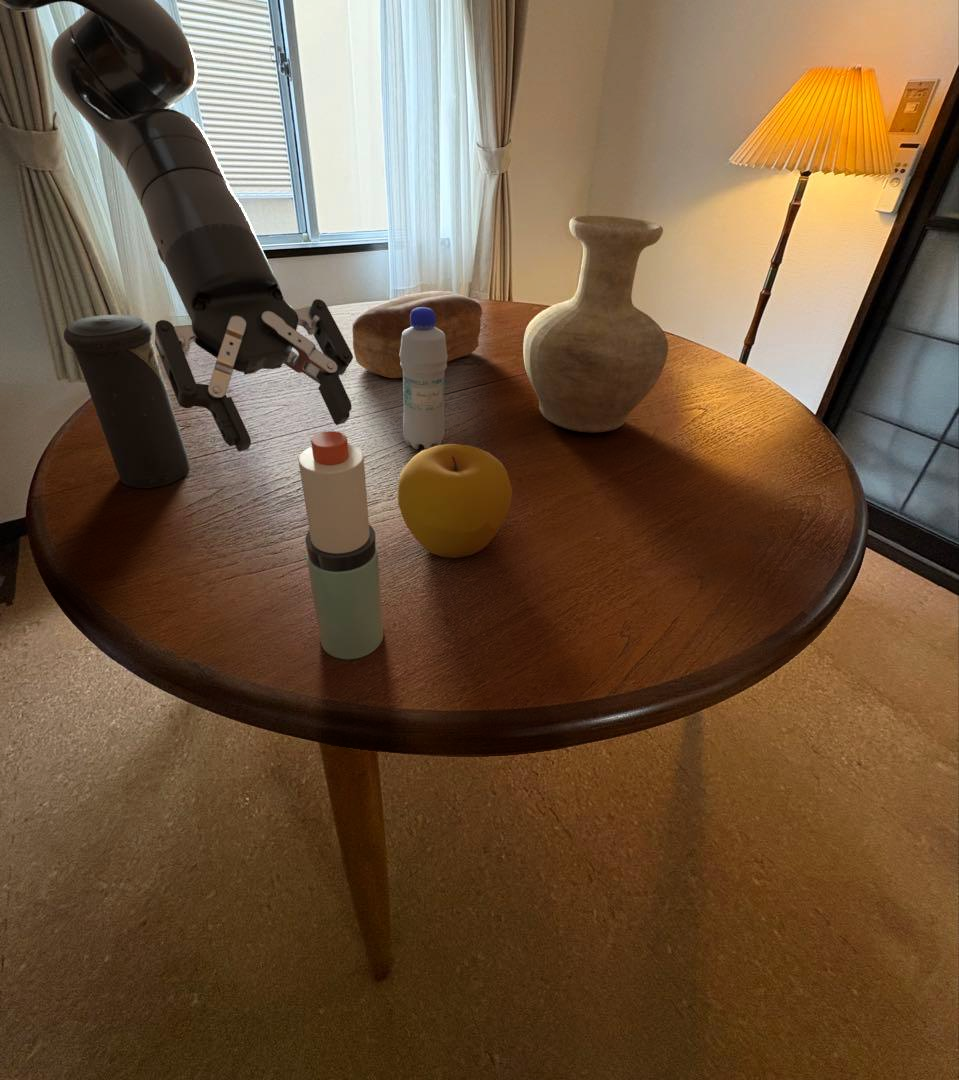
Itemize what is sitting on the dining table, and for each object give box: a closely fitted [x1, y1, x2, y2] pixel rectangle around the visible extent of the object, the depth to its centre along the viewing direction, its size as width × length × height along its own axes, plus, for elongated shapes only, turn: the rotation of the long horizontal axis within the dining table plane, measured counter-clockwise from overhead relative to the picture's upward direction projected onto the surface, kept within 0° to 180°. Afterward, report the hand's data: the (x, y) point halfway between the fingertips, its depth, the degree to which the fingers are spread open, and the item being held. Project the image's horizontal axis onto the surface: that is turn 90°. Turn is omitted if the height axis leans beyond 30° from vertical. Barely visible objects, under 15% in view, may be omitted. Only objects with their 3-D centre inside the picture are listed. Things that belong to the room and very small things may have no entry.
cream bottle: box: [297, 430, 370, 554], centre depth 44 cm, size 5×5×9 cm
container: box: [63, 314, 191, 489], centre depth 69 cm, size 9×9×20 cm
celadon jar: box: [304, 523, 385, 660], centre depth 50 cm, size 6×6×12 cm
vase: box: [522, 215, 669, 434], centre depth 87 cm, size 22×22×30 cm
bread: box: [352, 290, 483, 379], centre depth 112 cm, size 14×28×12 cm, turn 141°
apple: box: [396, 443, 513, 559], centre depth 64 cm, size 13×13×11 cm
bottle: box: [399, 307, 448, 450], centre depth 80 cm, size 7×7×20 cm
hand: (297, 433), depth 46 cm, fingers open, 8 cm apart
